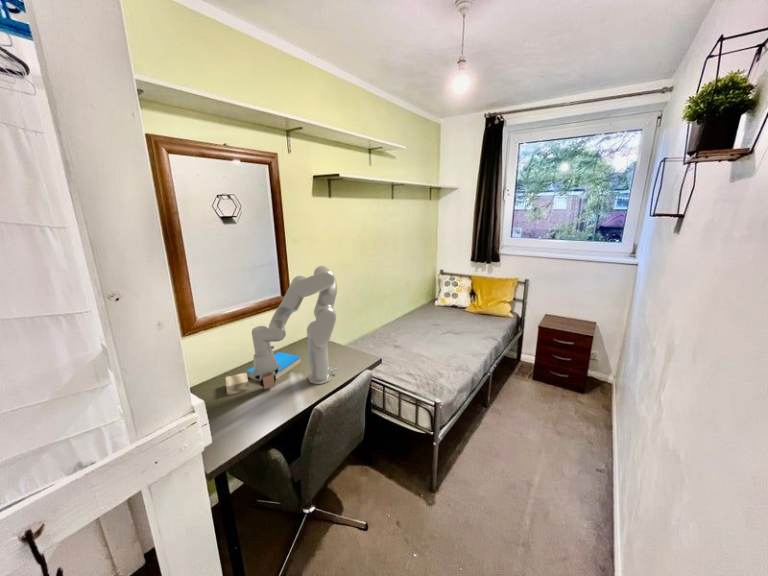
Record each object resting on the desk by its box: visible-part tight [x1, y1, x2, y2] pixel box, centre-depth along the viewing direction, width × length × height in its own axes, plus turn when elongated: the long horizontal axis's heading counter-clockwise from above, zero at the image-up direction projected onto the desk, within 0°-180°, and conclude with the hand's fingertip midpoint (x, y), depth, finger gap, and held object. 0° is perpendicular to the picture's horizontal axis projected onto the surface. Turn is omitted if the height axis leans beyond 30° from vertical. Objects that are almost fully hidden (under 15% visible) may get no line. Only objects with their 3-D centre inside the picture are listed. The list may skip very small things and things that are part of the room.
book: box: [245, 351, 302, 381], centre depth 180 cm, size 17×4×25 cm
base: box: [225, 372, 250, 396], centre depth 163 cm, size 10×10×5 cm
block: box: [262, 372, 276, 390], centre depth 160 cm, size 5×5×6 cm
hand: (268, 383), depth 161 cm, fingers closed on block, 5 cm apart
